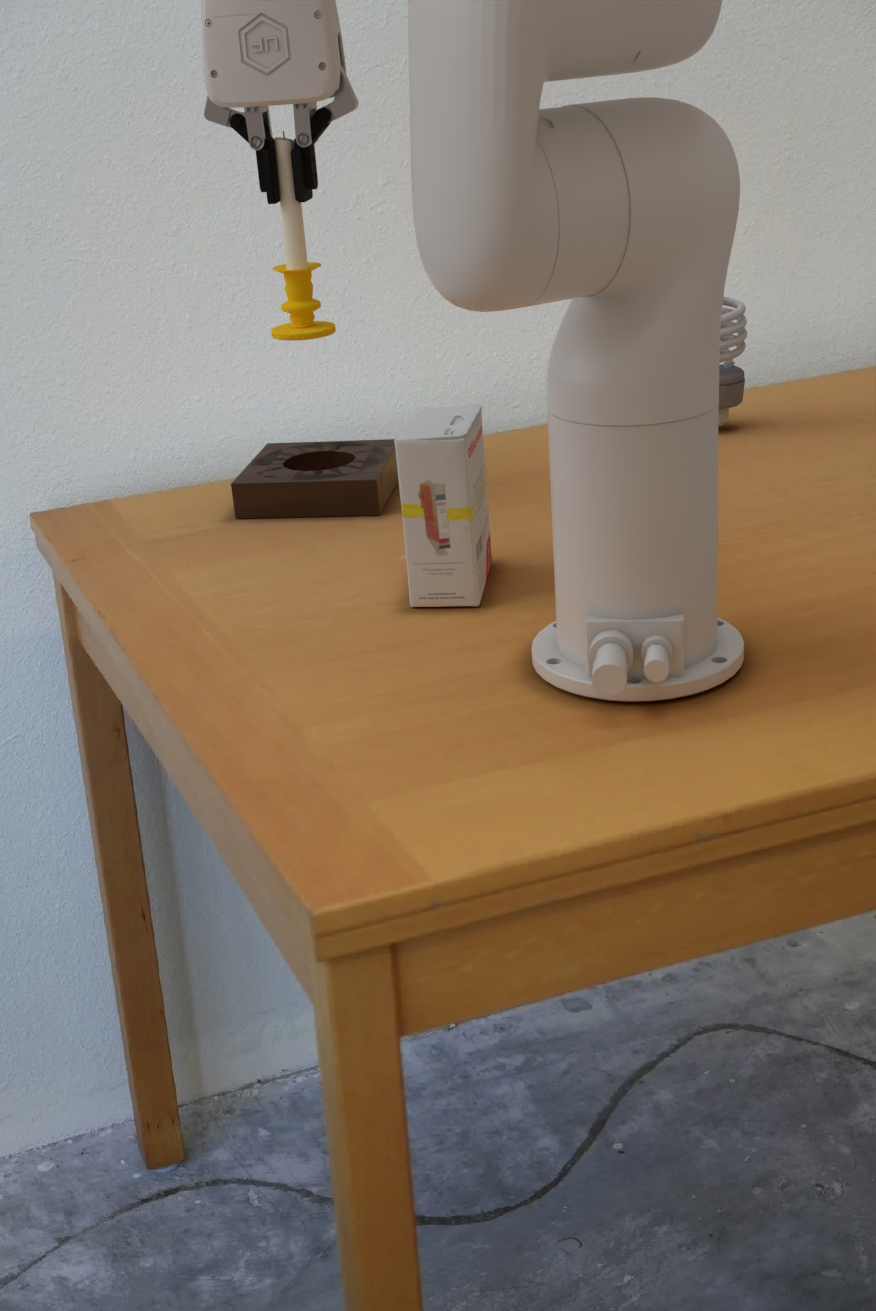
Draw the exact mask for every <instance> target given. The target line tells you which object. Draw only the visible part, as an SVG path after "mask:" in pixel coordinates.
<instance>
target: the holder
mask: <svg viewBox="0 0 876 1311" xmlns="http://www.w3.org/2000/svg"><path fill="white" fill-rule="evenodd" d="M395 439H396V438H392V439H391V438H390V439H389V438H388V439H387V438H386V439H361V440H360V439H357V440H333V441H332V440H328V441H327V440H326V441H297V442H296V441H295V442H294V441H293V442H269V443H266V444H265V445H264V446H263V447H262V449H261V450H260V451H259V452H258V453H257V454H256V455H255V456H254V457H253V458H252V460H251V461H250V462H249V463H248V464H247V465H246V466H245V468H244V469H243V470H242V471H241V472H240V473H239V474H238V475H237V476H236V478H234V480H233V481H232V482H231V483H230V488H231V495H232V503H233V511H234V512H233V513H234V518H235V519H237V520H238V519H239V520H240V519H241V520H243V519H279V518H280V519H281V518H282V519H283V518H287V519H288V518H320V517H323V518H324V517H326V518H327V517H329V518H330V517H364V516H365V517H366V516H380V515H381V513H383V510H384V508H385V506H386V504H387V502H388V501H389V499H390V497H391V495H392V494H393V492H394V490H395V489H396V488H397V487H396V486H397V485H398V484H399V479H398V469H397V460H396V450H395V443H394V440H395Z"/></svg>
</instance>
